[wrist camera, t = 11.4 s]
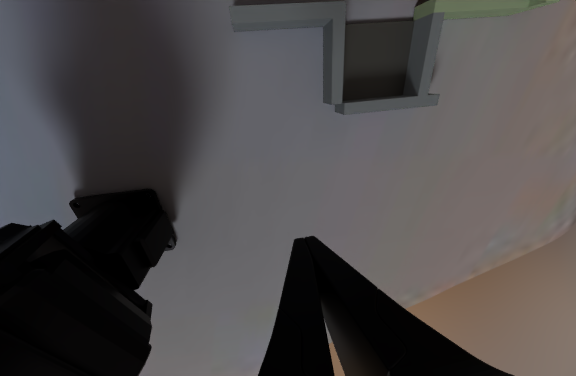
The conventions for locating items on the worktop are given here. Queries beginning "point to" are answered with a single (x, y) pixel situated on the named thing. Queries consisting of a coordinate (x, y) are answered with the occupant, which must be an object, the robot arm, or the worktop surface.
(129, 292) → the robot arm
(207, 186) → the worktop surface
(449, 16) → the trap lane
